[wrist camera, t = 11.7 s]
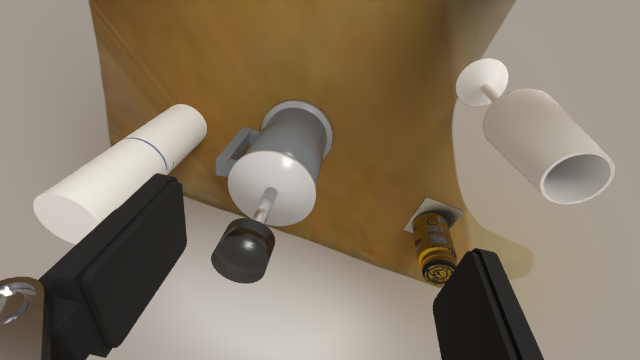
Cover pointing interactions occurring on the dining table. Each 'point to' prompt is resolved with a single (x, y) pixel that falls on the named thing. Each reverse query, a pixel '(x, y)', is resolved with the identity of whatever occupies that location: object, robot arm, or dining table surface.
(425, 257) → the condiment
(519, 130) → the champagne flute
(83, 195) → the cylindrical container
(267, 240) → the plunger
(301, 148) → the press housing
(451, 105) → the dining table surface
